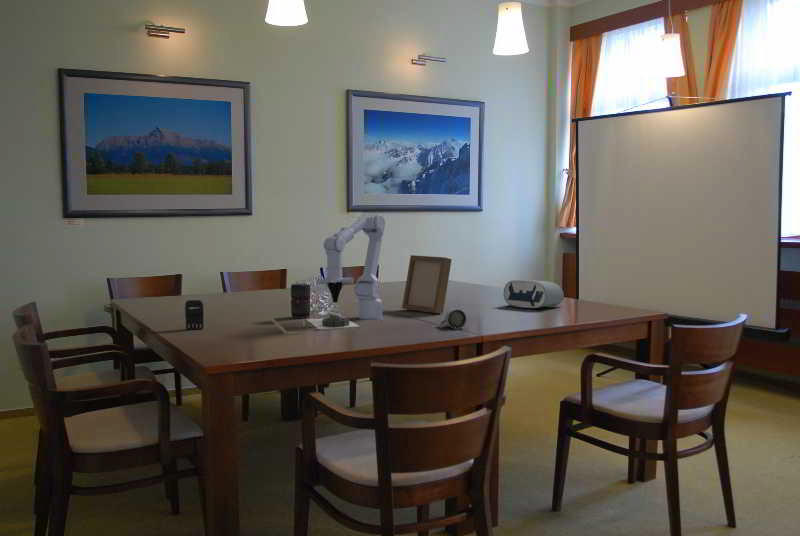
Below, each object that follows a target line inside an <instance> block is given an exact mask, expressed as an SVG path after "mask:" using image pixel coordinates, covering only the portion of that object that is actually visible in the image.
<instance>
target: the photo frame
mask: <svg viewBox="0 0 800 536" xmlns="http://www.w3.org/2000/svg"><path fill="white" fill-rule="evenodd" d="M452 261H453V259H452V258H448V257H444V256H431V255H428V256H427V255H413V254H411V255H410V257H409V265H408V269H407V276H406V280H405V281H406V282H405V288H404V293H403V300H402V306H401V308H402V309H404V310H409V309H411V311H416V310H417V312H423V311H424V313H430V312H431V313H430V314H437V313H438V314H437V315H440V314H439V313H443V314H444V308H445V304H446V298H447V297H446V296H447V292H448V291H447V289H448V285H449V278H450V271H451V266H452Z"/></svg>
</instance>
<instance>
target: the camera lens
mask: <svg viewBox="0 0 800 536" xmlns="http://www.w3.org/2000/svg"><path fill="white" fill-rule="evenodd" d="M290 299H291V300H290V313H291V317H292V319H295V320H301V319H302V320H304V319H310V317H311V284H309V283H291V286H290Z"/></svg>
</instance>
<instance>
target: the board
mask: <svg viewBox="0 0 800 536" xmlns="http://www.w3.org/2000/svg"><path fill="white" fill-rule="evenodd" d="M305 319H306V321H307V322H309V323H310V324H311V325H313V326H314V327H316V329H317V330H316V331H318V332H328V331H327V330H332V331H345V330H346V329H349V330H360V329H361V327H360V326H359V324H357V323H354V322H353V321H351V320H350V319H349V318H347V317H344V316H342V321H329V317H326V318H305Z"/></svg>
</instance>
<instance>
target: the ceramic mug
mask: <svg viewBox="0 0 800 536" xmlns="http://www.w3.org/2000/svg"><path fill="white" fill-rule="evenodd" d="M467 317H468V316H467V314H466V312H465V311H463V309H460V308H456V307H455V308H454V307H453V308H450V309H448V311H446V313H445V318H444V319H443V320H441V321H440V322H438V323H437V325H438V326H437V327H438V328H439V327H440V328H439V329H442V328H445V327H447V326H449V327H450V328H451V329H453V328H454V329H453V330H456V329H455V327H456V328H458V329H457V330H460V329H462V328H463V327H465V325H466V323H467Z"/></svg>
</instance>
